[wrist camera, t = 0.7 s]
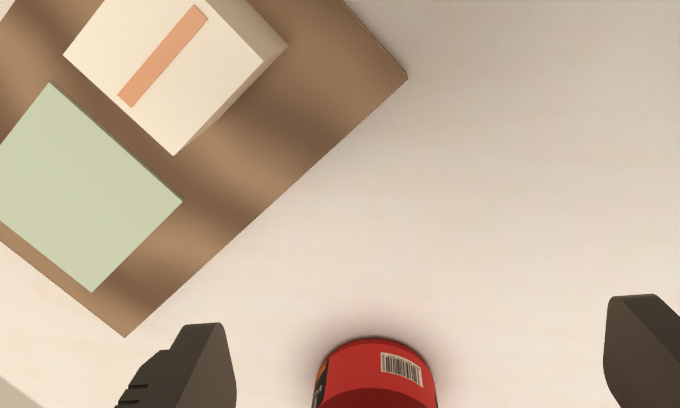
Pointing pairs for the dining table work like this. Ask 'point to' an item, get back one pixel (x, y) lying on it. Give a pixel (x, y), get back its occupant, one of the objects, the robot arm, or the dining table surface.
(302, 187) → the dining table surface
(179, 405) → the robot arm
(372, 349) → the canned food
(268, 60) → the cream drawer box
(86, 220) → the mat
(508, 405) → the dining table surface
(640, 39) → the dining table surface
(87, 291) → the post board
